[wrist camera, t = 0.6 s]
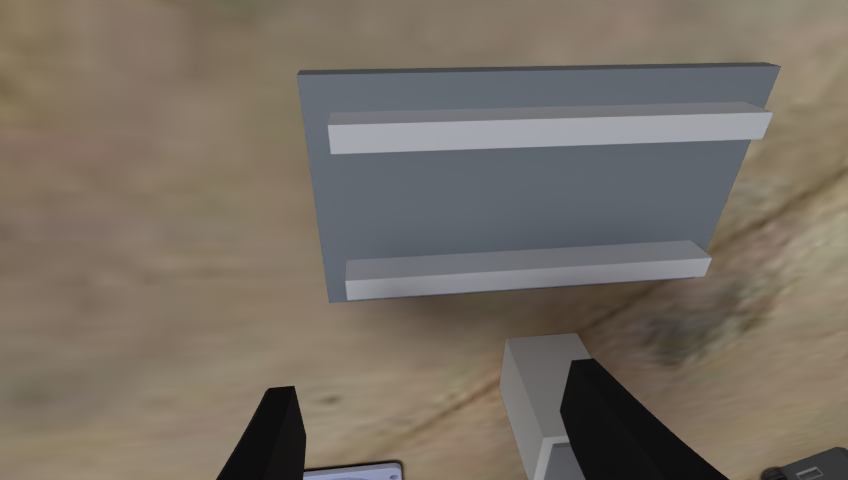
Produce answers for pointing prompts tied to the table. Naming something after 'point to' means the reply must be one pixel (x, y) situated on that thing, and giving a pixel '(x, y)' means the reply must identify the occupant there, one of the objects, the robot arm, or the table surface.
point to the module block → (541, 402)
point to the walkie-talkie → (815, 467)
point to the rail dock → (524, 173)
